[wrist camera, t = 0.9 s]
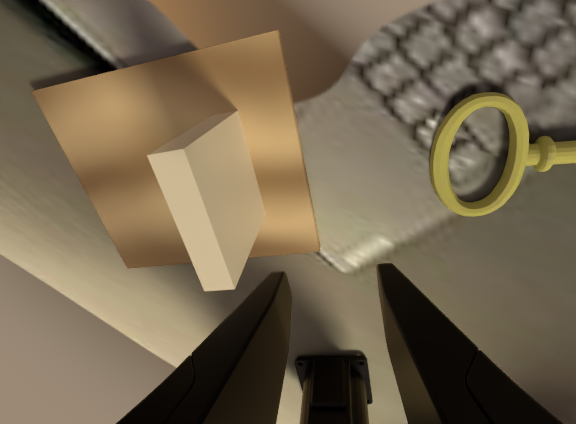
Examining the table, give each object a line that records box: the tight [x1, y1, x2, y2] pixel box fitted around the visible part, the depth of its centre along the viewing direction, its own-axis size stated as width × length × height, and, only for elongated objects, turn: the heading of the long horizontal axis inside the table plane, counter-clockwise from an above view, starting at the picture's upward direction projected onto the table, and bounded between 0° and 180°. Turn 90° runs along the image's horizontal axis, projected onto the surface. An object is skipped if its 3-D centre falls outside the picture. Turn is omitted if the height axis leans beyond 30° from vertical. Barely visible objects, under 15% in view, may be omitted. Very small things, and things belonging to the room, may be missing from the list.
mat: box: [31, 30, 320, 268], centre depth 21 cm, size 14×16×1 cm
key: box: [430, 92, 576, 216], centre depth 17 cm, size 7×12×2 cm, turn 117°
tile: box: [147, 110, 266, 291], centre depth 17 cm, size 7×2×8 cm, turn 12°
